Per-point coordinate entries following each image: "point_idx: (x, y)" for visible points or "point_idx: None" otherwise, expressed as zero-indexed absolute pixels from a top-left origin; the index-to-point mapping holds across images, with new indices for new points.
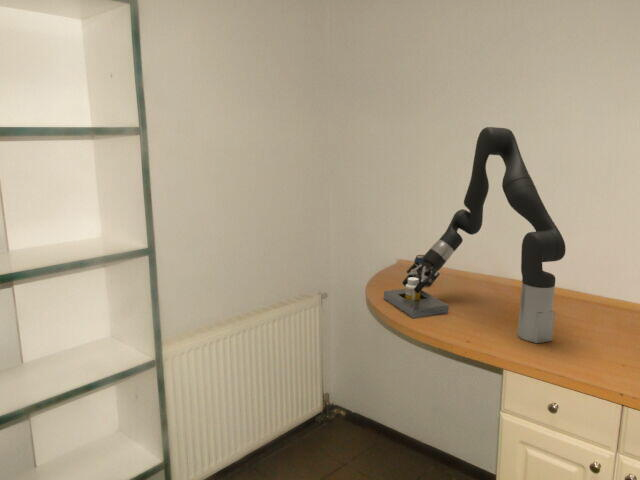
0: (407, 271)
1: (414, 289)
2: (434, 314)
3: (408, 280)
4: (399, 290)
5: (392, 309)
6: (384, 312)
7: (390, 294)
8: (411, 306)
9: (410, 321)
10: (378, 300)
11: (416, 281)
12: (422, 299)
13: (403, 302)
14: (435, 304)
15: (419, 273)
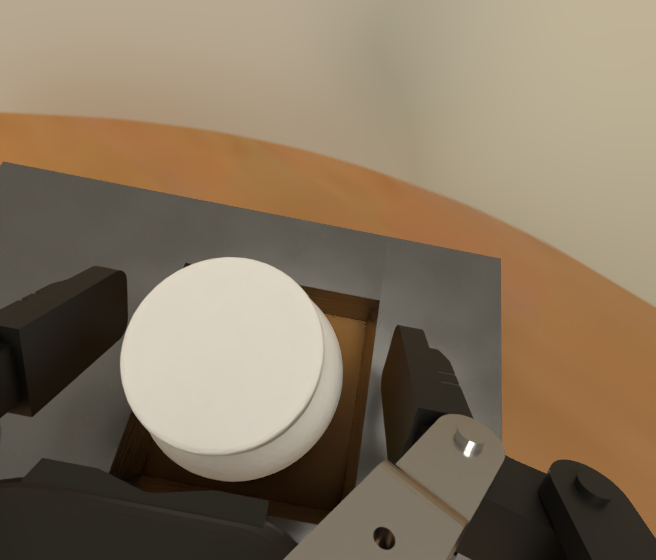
0: (580, 472)
1: (104, 268)
2: None
3: (252, 266)
4: (469, 391)
5: (257, 202)
6: (244, 138)
7: (400, 248)
8: (65, 199)
9: (23, 160)
10: (453, 235)
11: (132, 341)
12: (118, 404)
13: (179, 209)
14: None
15: (141, 496)
